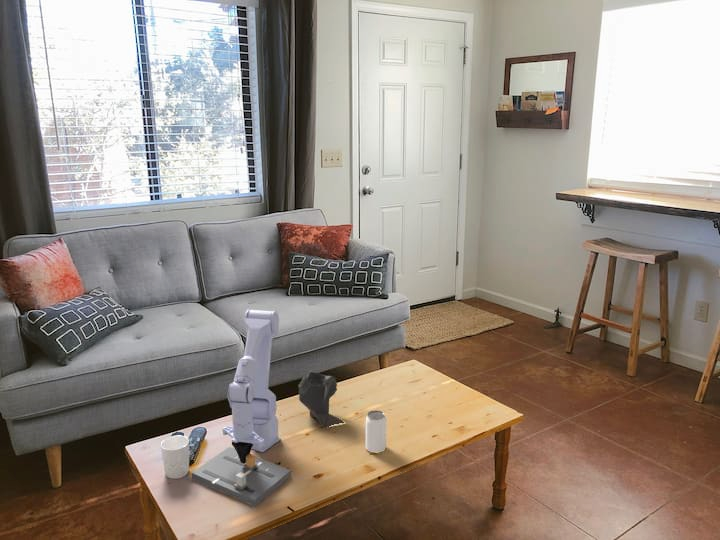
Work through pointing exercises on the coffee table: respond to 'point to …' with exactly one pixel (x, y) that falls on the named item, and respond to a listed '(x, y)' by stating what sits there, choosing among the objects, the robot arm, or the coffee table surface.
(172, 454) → the white cup
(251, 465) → the fader tab orange
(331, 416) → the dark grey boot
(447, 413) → the coffee table surface
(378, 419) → the can
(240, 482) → the fader tab grey
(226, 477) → the console board
